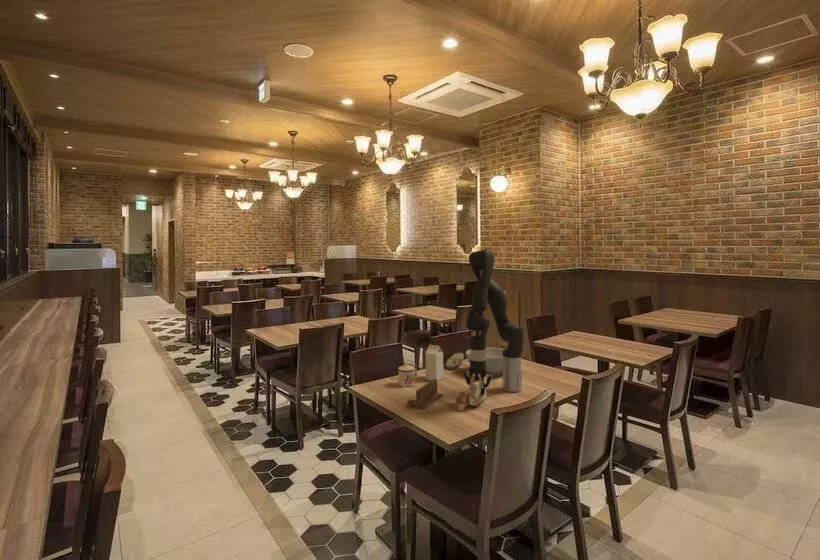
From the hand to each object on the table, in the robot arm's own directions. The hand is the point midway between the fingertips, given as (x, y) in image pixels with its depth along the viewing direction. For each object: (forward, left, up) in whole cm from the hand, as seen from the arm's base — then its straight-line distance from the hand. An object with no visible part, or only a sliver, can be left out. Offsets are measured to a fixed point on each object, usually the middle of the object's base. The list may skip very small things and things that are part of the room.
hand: (477, 394), depth 204 cm
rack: (+24, +7, -4) cm, 25 cm away
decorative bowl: (+10, -51, -4) cm, 52 cm away
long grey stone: (+36, -65, -5) cm, 74 cm away
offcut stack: (+5, +7, -4) cm, 10 cm away
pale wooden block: (0, 0, -3) cm, 3 cm away
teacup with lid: (+43, -13, -4) cm, 45 cm away
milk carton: (+34, -27, -4) cm, 43 cm away
